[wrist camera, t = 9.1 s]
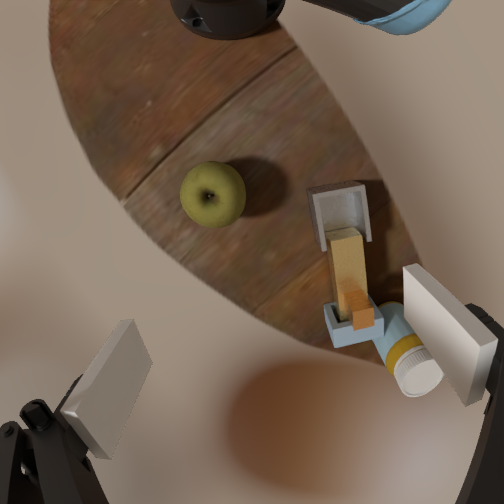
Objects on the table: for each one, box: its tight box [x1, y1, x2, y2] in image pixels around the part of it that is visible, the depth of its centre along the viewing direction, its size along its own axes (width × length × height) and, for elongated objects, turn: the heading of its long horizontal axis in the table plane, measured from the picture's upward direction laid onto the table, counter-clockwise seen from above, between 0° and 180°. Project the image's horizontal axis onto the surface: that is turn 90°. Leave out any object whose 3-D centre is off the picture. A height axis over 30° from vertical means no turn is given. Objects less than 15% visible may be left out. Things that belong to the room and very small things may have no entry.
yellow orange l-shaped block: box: [324, 227, 375, 331], centre depth 39 cm, size 13×4×9 cm, turn 13°
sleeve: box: [306, 180, 372, 251], centre depth 39 cm, size 7×6×5 cm
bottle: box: [372, 301, 444, 397], centre depth 40 cm, size 7×7×15 cm
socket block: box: [323, 294, 384, 348], centre depth 43 cm, size 3×7×7 cm, turn 103°
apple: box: [180, 161, 246, 228], centre depth 38 cm, size 8×8×7 cm
